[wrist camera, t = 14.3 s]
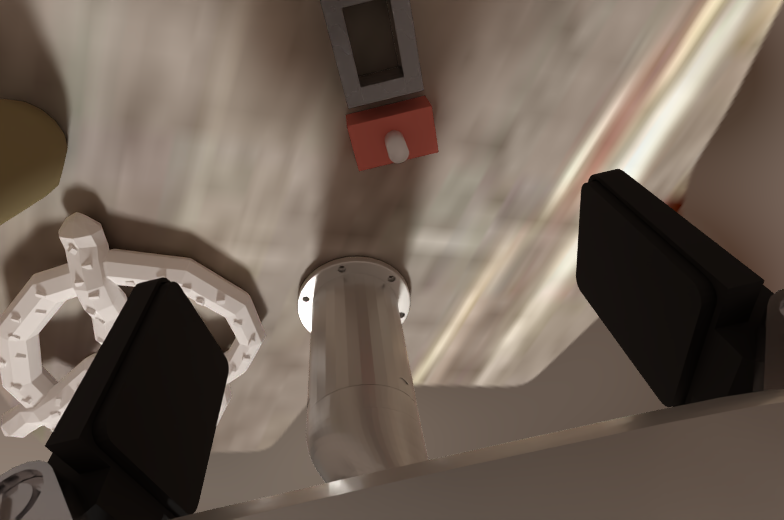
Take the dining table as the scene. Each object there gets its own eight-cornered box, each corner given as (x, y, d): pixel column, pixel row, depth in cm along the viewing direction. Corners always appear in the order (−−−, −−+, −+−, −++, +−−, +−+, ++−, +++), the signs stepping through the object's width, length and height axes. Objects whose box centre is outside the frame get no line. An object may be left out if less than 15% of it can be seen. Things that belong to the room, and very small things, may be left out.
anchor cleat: (431, 139, 40) (446, 166, 35) (357, 157, 40) (361, 186, 36) (425, 95, 38) (439, 117, 33) (345, 114, 38) (348, 140, 33)
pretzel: (46, 183, 40) (9, 212, 35) (291, 272, 50) (292, 305, 44) (-14, 398, 49) (-50, 447, 44) (202, 437, 59) (194, 481, 54)
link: (416, 78, 37) (423, 90, 34) (346, 96, 37) (348, 108, 34) (398, -34, 32) (404, -32, 29) (318, -14, 32) (317, -9, 30)
